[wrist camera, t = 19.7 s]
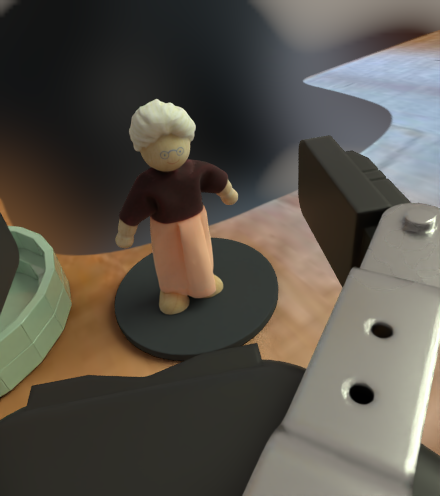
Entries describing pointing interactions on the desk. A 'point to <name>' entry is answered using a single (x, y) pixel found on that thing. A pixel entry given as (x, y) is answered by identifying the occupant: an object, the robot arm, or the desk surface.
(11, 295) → the bowl
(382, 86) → the desk surface
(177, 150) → the grandmother figurine
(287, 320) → the desk surface
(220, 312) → the coaster
